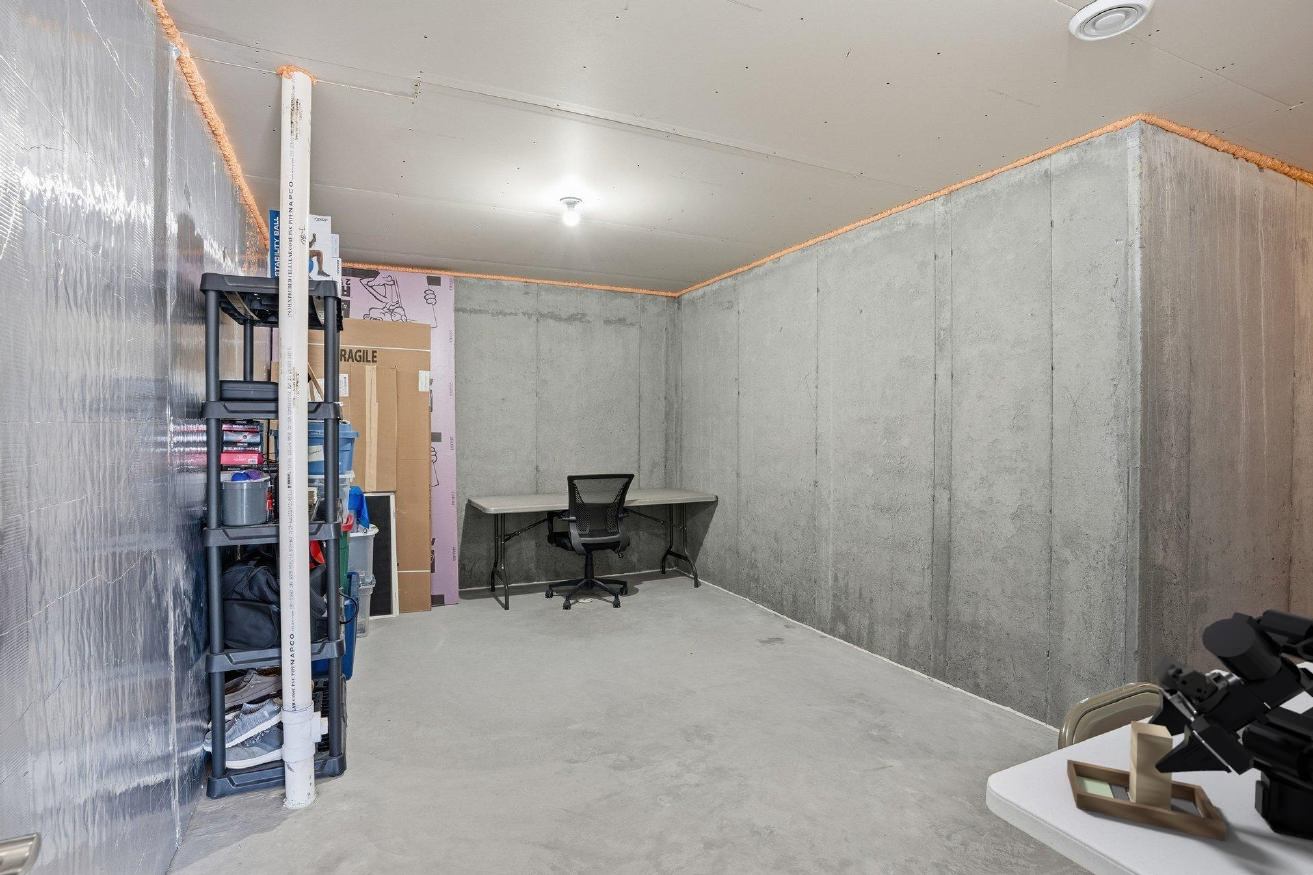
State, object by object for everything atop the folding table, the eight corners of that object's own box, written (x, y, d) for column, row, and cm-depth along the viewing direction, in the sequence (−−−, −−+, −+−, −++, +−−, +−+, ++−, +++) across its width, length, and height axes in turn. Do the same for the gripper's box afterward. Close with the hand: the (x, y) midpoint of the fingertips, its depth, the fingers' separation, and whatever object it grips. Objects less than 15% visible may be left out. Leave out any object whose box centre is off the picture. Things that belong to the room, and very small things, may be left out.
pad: (1107, 784, 99) (1107, 782, 99) (1118, 812, 92) (1118, 809, 92) (1074, 777, 101) (1074, 775, 101) (1081, 803, 94) (1081, 801, 94)
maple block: (1162, 802, 94) (1165, 726, 94) (1170, 817, 91) (1172, 738, 90) (1129, 794, 96) (1131, 720, 96) (1135, 809, 92) (1137, 732, 92)
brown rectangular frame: (1200, 799, 95) (1201, 785, 95) (1225, 840, 86) (1226, 825, 85) (1067, 771, 102) (1067, 759, 102) (1076, 807, 93) (1076, 793, 93)
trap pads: (1191, 801, 94) (1191, 799, 94) (1208, 832, 87) (1208, 830, 87) (1110, 784, 99) (1110, 782, 99) (1120, 812, 92) (1120, 810, 92)
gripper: (1178, 623, 99) (1089, 683, 104) (1223, 665, 82) (1115, 734, 87) (1243, 684, 96) (1149, 743, 101) (1305, 740, 79) (1187, 808, 84)
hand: (1148, 753), depth 93 cm, fingers open, 9 cm apart
